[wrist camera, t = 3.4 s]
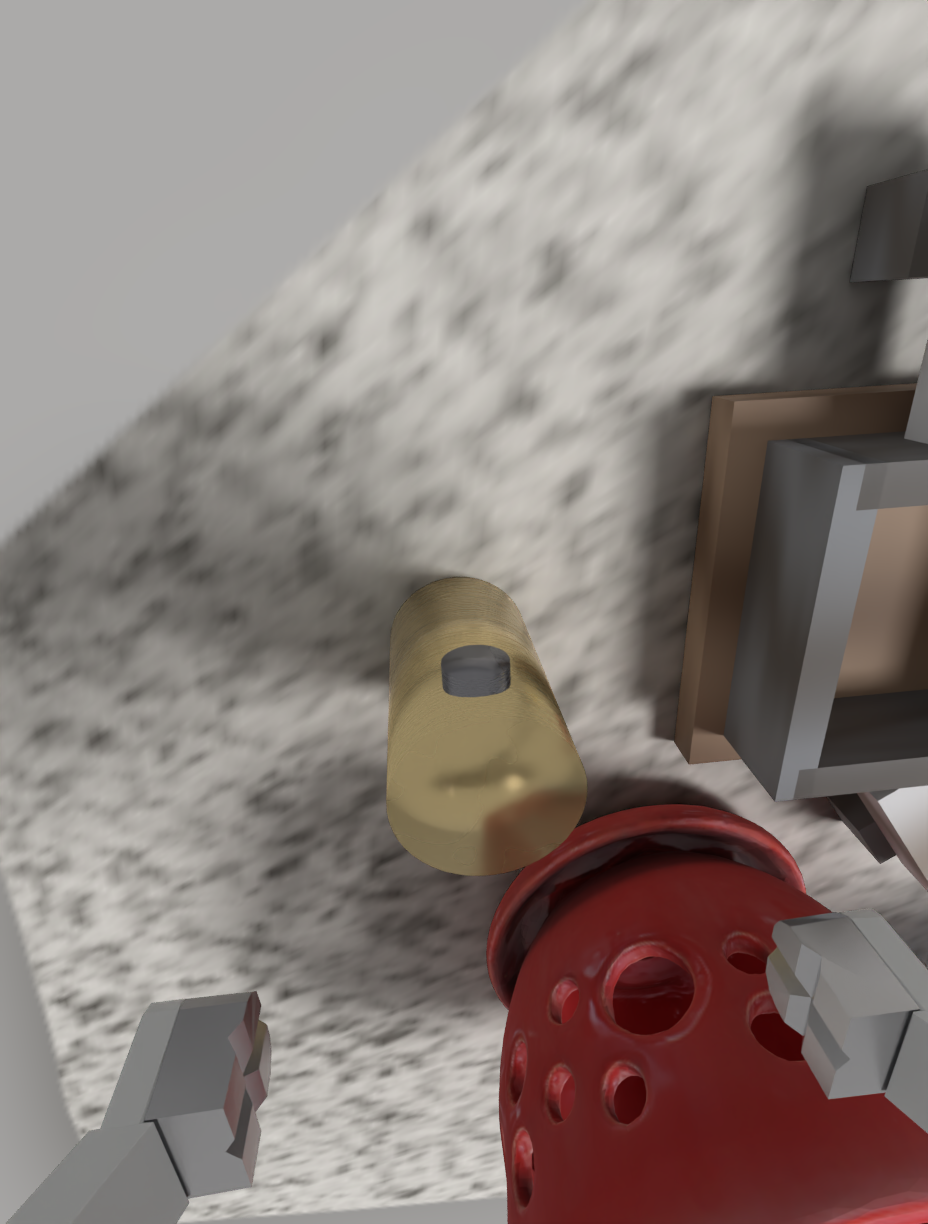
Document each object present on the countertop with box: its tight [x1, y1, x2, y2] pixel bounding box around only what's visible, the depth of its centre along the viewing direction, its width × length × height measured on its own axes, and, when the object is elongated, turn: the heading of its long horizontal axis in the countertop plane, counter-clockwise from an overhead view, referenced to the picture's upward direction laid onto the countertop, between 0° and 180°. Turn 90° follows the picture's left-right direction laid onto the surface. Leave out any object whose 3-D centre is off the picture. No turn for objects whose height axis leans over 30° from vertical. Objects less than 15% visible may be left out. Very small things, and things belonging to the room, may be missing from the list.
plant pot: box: [486, 804, 928, 1224], centre depth 19 cm, size 13×13×12 cm
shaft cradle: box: [674, 169, 928, 891], centre depth 17 cm, size 20×10×4 cm, turn 3°
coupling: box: [386, 577, 587, 876], centre depth 16 cm, size 5×4×7 cm
